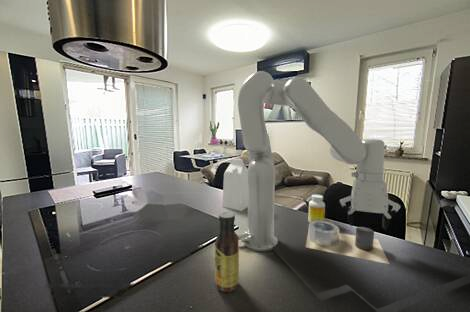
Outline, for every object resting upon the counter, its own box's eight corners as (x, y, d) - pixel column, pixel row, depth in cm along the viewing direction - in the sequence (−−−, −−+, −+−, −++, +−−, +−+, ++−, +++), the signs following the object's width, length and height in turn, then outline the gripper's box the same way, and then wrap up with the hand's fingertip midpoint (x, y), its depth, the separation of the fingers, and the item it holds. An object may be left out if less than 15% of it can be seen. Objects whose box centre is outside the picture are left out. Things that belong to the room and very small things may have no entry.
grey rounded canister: (364, 252, 69) (366, 234, 68) (351, 244, 74) (352, 228, 73) (376, 249, 71) (377, 232, 70) (362, 241, 76) (363, 225, 75)
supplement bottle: (325, 228, 89) (327, 198, 88) (309, 226, 90) (310, 197, 89) (322, 221, 96) (323, 194, 94) (307, 220, 97) (308, 193, 96)
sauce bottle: (215, 277, 59) (214, 209, 57) (237, 276, 59) (237, 208, 57) (215, 295, 52) (214, 219, 50) (240, 293, 53) (240, 218, 51)
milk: (251, 204, 119) (251, 158, 116) (241, 211, 109) (241, 161, 106) (233, 200, 125) (233, 157, 122) (222, 206, 115) (221, 159, 112)
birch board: (305, 250, 72) (305, 247, 72) (308, 230, 87) (308, 227, 87) (389, 267, 63) (389, 264, 63) (377, 242, 78) (377, 239, 77)
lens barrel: (321, 249, 71) (322, 234, 71) (303, 235, 80) (303, 222, 80) (344, 243, 74) (345, 230, 74) (324, 231, 84) (324, 219, 83)
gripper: (340, 177, 70) (339, 227, 71) (405, 180, 63) (402, 235, 65) (339, 173, 76) (338, 218, 78) (397, 175, 70) (395, 225, 71)
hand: (367, 226), depth 71 cm, fingers open, 9 cm apart
